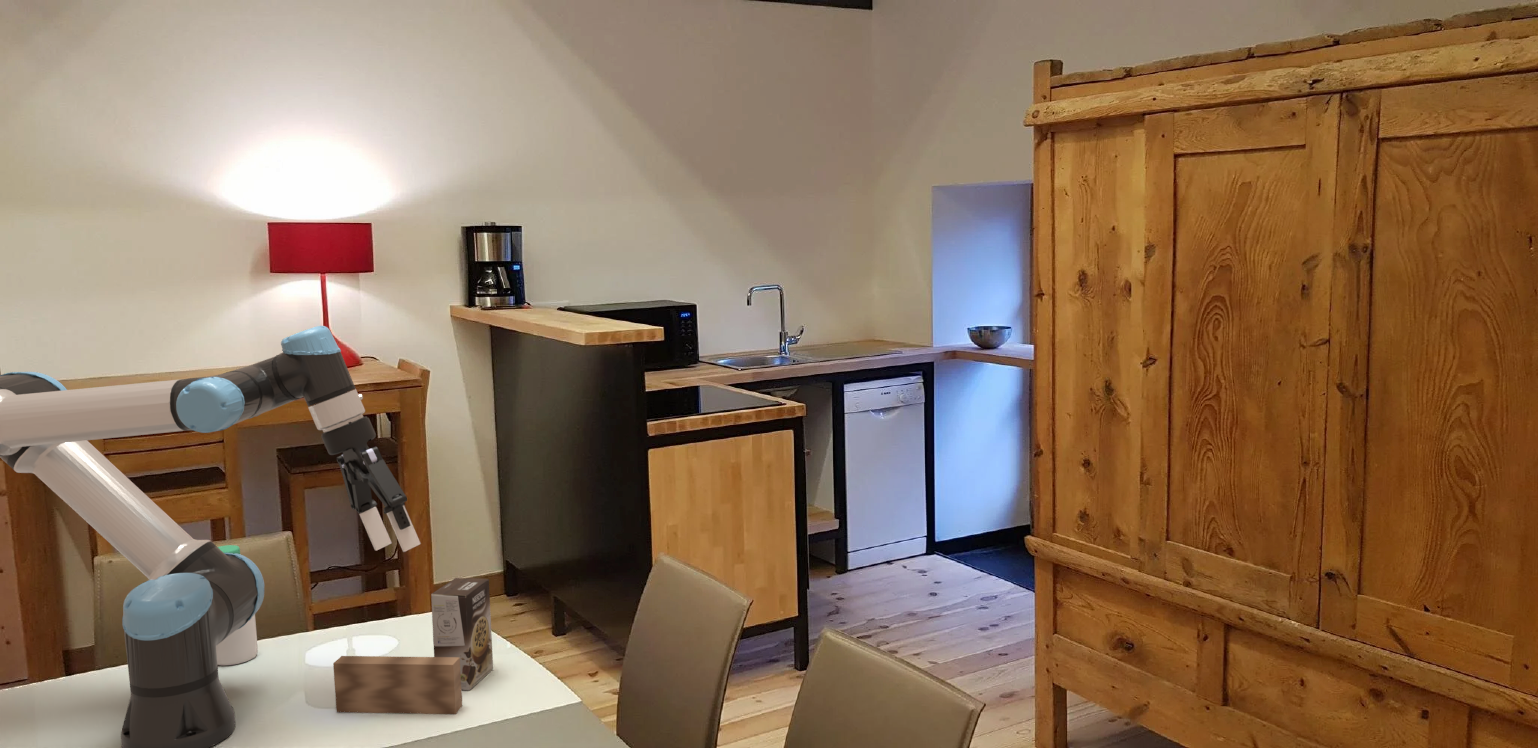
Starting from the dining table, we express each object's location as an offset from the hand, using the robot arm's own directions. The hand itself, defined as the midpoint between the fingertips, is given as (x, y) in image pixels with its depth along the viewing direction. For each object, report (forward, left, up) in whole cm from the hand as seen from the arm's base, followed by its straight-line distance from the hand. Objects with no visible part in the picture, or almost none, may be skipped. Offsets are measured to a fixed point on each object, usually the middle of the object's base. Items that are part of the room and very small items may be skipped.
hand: (397, 547), depth 179 cm
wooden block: (+1, -5, -25) cm, 25 cm away
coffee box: (+7, +7, -25) cm, 27 cm away
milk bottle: (-37, +15, -25) cm, 47 cm away
